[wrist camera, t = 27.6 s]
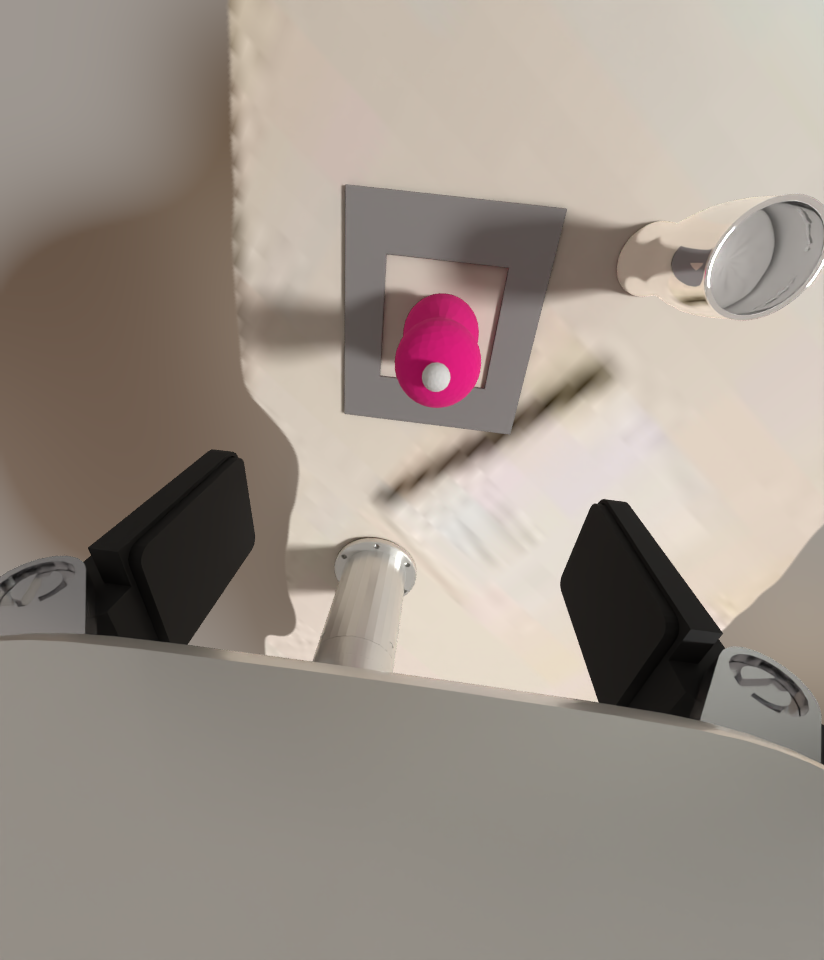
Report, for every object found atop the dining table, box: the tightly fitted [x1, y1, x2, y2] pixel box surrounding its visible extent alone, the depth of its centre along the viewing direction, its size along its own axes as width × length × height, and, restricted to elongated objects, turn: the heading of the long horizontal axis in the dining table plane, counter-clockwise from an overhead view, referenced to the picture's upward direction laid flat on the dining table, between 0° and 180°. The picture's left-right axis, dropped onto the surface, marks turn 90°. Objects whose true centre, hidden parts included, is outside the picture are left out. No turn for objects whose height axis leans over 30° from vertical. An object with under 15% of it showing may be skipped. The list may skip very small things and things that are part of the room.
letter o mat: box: [345, 184, 567, 434], centre depth 40 cm, size 22×20×1 cm
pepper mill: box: [395, 293, 481, 408], centre depth 31 cm, size 7×7×20 cm
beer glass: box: [617, 194, 824, 321], centre depth 29 cm, size 7×7×15 cm
